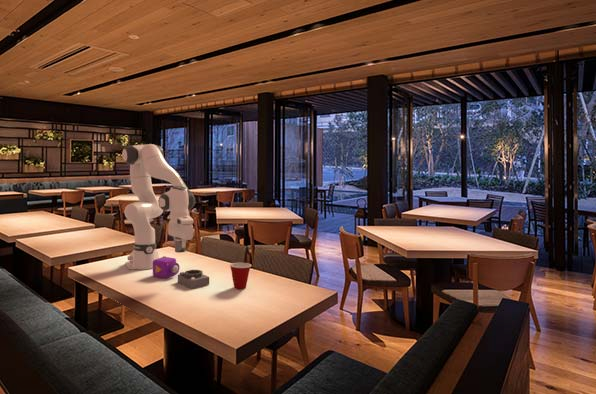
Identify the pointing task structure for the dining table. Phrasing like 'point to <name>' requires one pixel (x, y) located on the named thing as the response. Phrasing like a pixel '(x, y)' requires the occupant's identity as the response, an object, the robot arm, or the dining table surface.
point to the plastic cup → (240, 274)
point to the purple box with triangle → (165, 267)
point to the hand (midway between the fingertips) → (180, 246)
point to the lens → (178, 245)
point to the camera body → (193, 279)
